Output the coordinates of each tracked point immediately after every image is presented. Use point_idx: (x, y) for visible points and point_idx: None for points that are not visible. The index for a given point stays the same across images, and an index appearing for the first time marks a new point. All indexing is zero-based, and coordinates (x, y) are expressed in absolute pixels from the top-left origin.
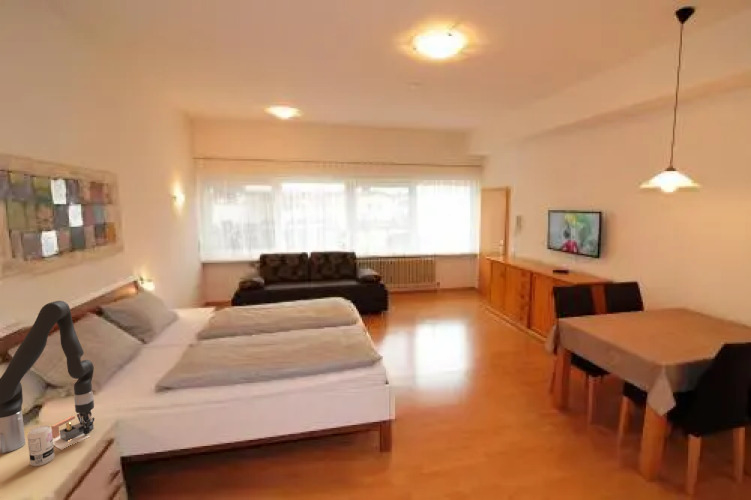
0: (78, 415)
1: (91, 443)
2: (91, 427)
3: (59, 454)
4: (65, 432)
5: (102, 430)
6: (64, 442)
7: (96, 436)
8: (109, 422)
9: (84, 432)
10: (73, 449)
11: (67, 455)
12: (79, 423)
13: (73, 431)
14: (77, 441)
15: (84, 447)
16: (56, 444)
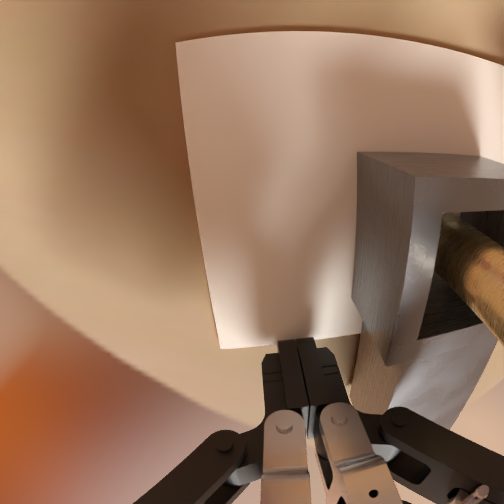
0: (498, 493)
1: (68, 305)
2: (357, 401)
3: (86, 21)
4: (452, 199)
5: (255, 418)
6: (344, 128)
7: (179, 372)
8: None
9: (292, 354)
10: (67, 153)
11: (3, 90)
12: (474, 377)
13: (390, 291)
14: (212, 237)
15: (33, 242)
16: (382, 57)
